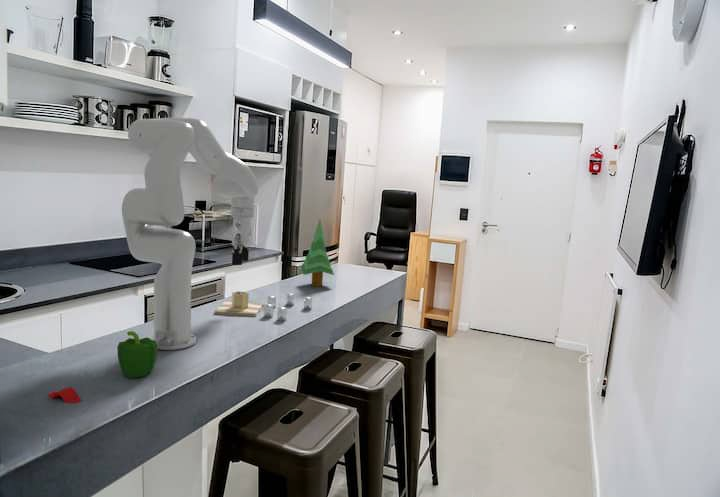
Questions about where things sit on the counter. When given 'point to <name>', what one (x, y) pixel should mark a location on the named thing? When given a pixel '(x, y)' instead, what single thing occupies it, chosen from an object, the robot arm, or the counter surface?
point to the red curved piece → (66, 395)
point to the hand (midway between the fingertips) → (240, 262)
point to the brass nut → (240, 300)
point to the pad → (228, 310)
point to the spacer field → (283, 310)
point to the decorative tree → (317, 259)
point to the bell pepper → (137, 355)
